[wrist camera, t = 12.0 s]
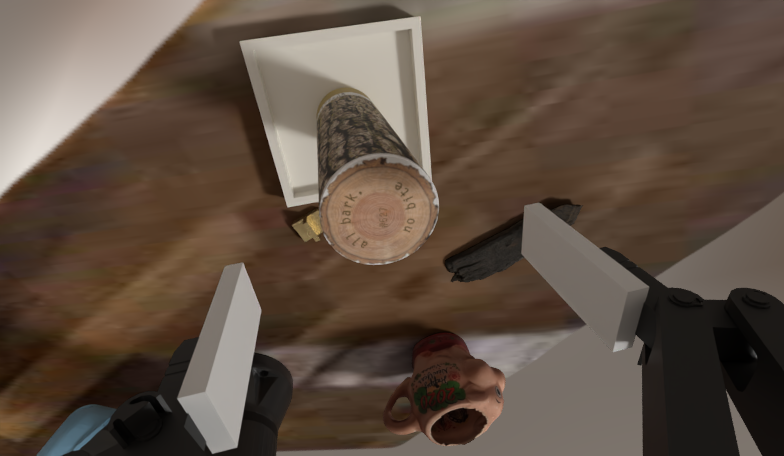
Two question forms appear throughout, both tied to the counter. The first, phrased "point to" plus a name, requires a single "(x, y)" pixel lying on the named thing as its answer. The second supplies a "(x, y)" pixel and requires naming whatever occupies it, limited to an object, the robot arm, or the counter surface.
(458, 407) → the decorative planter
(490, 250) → the wood
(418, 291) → the counter surface
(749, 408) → the robot arm
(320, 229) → the tan short block
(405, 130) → the ceramic dish
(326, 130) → the paper tube
